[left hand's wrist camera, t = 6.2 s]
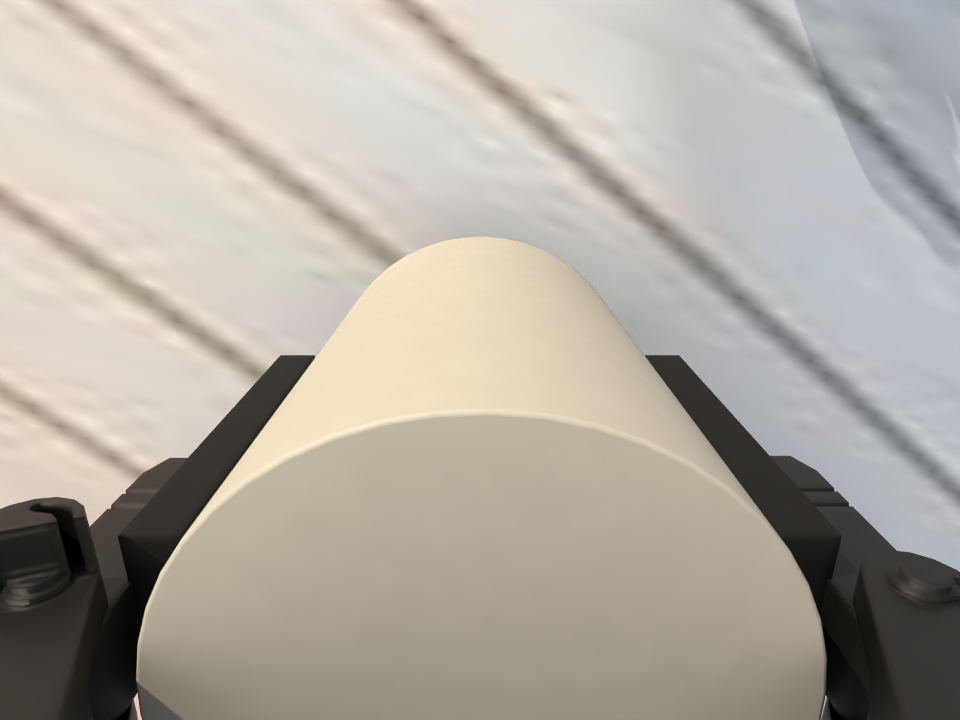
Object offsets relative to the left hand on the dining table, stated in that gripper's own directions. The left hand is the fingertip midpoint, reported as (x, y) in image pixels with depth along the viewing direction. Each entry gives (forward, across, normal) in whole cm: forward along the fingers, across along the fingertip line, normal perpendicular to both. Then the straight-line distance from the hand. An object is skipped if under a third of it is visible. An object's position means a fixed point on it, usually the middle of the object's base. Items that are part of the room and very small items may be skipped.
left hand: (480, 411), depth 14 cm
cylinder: (+2, 0, 0) cm, 2 cm away
